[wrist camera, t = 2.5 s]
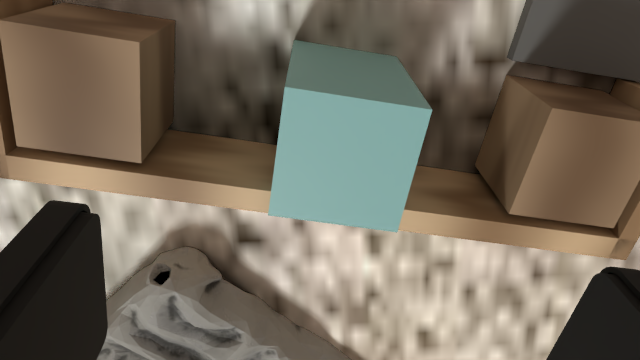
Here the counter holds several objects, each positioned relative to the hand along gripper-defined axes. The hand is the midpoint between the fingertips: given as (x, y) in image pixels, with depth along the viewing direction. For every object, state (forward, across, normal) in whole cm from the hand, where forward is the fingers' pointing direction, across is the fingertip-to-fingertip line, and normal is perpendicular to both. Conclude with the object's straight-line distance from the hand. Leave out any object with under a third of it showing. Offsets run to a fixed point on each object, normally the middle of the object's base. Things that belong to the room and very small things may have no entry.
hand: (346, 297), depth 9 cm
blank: (+14, -1, 0) cm, 14 cm away
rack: (+14, -1, 0) cm, 14 cm away
